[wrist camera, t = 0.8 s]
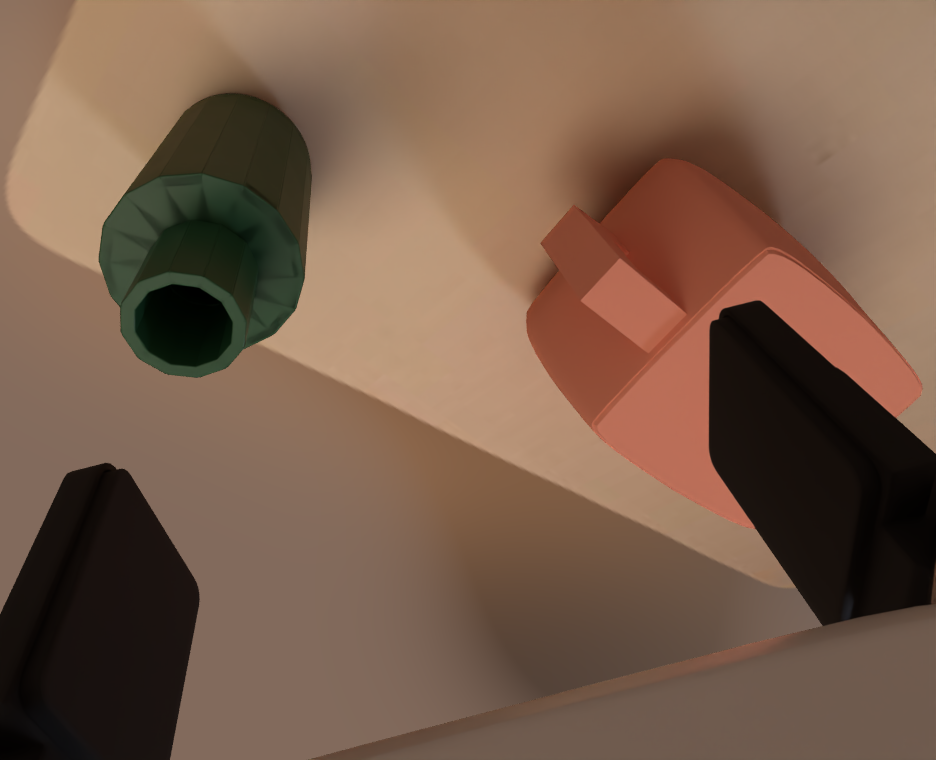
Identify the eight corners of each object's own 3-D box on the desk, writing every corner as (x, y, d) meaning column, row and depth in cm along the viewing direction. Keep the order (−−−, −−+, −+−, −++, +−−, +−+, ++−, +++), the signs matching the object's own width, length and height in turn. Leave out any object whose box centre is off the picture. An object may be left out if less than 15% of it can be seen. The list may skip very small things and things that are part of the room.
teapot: (853, 307, 44) (1042, 450, 32) (702, 446, 48) (820, 617, 37) (610, 75, 34) (756, 161, 23) (448, 276, 39) (499, 434, 27)
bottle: (141, 171, 33) (17, 343, 20) (220, 61, 31) (140, 170, 18) (259, 254, 36) (218, 450, 23) (338, 157, 34) (343, 312, 21)
